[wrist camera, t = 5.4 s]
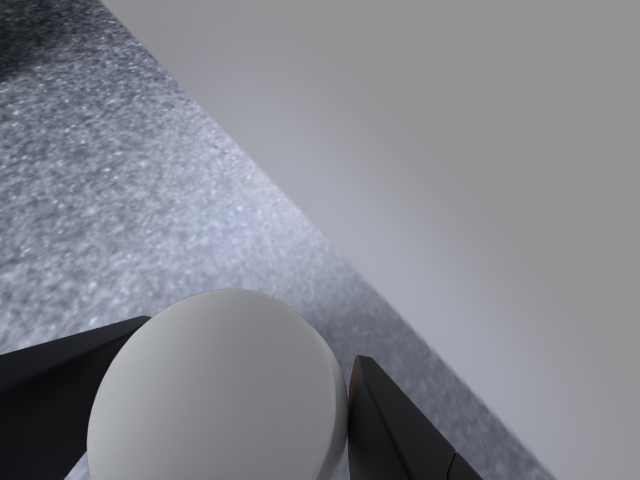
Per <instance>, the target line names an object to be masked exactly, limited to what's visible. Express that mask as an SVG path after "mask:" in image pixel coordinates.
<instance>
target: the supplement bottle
mask: <svg viewBox="0 0 640 480" xmlns="http://www.w3.org/2000/svg"><path fill="white" fill-rule="evenodd" d="M348 422H349V405H348V397H347V390H346V385H345V381H344V377H343V374H342V371H341V368H340V366H339V363H338V361H337V359H336V357H335V355H334V353H333V352H332V350H331V348H330V347H329V345H328V344H327V343H326V341H325V340H324V339H323V337H322V336H321V335H320V334H319V333H318V332H317V331H316V330H315V329H314V328H313V327H312V326H311V325H309V324H308V323H307V322H306V321H305V320H304V319H303V318H302V317H301V316H300V315H299V314H298V313H297V312H296V311H295V310H293V309H292V308H291V307H289V306H288V305H286V304H284V303H283V302H281V301H279V300H277V299H275V298H273V297H271V296H269V295H265V294H262V293H259V292H255V291H250V290H241V289H221V290H213V291H207V292H203V293H200V294H196V295H193V296H190V297H187V298H185V299H183V300H181V301H178V302H176V303H174V304H173V305H171V306H169V307H167V308H166V309H164V310H162V311H161V312H159V313H158V314H156V315H155V316H154V317H152V318H151V319H150V320H149V321H147V322H146V323H145V324H144V325H143V326H142V327H141V328H139V329H138V330H137V331H136V332H135V333H134V334H133V335H132V336H131V337H130V339H129V340H128V341H127V342H126V343H125V345H124V346H123V347H122V348H121V350H120V351H119V353H118V354H117V355H116V357H115V358H114V360H113V361H112V363H111V365H110V367H109V368H108V370H107V372H106V374H105V376H104V378H103V380H102V382H101V384H100V387H99V389H98V392H97V395H96V398H95V401H94V404H93V407H92V411H91V415H90V420H89V426H88V434H87V461H88V469H89V475H90V479H91V480H333V479H334V477H335V475H336V473H337V470H338V467H339V465H340V462H341V459H342V456H343V452H344V448H345V444H346V438H347V432H348Z"/></svg>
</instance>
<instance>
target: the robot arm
mask: <svg viewBox="0 0 640 480" xmlns="http://www.w3.org/2000/svg"><path fill="white" fill-rule="evenodd" d="M151 318H152V317H149V316H139V317H136V318H132V319H128V320H125V321H121V322H118V323H114V324H110V325H107V326H103V327H100V328H96V329H92V330H89V331H85V332H82V333H78V334H74V335H71V336H67V337H64V338H60V339H56V340H53V341H49V342H46V343H42V344H38V345H35V346H31V347H28V348H24V349H20V350H17V351H13V352H10V353H6V354H2V355H0V480H64V479H65V477H66V476H67V475H68V474H69V472H70V471H71V470H72V469H73V467H74V466H75V465H76V463H77V462H78V461H79V460H80V458H81V457H82V456H83V455H84V453H85V452H86V451H87V434H88V426H89V420H90V415H91V411H92V407H93V404H94V401H95V398H96V395H97V392H98V389H99V387H100V384H101V382H102V380H103V378H104V376H105V374H106V372H107V370H108V368H109V367H110V365H111V363H112V361H113V360H114V358H115V357H116V355H117V354H118V353H119V351H120V350H121V348H122V347H123V346H124V345H125V343H126V342H127V341H128V340H129V339H130V337H131V336H132V335H133V334H134V333H135V332H136V331H137V330H138V329H139V328H141V327H142V326H143V325H144V324H145V323H146V322H147V321H149V320H150V319H151ZM455 452H456V450H455V449H454V447H453V446H452V445H451V444H450V443H449V442H448V441H447V440H446V439H445V438H444V436H443V435H442V434H441V433H440V432H439V431H438V430H437V429H436V428H435V427H434V425H433V424H432V423H431V422H430V421H429V420H428V419H427V418H426V417H425V416H424V414H423V413H422V412H421V411H420V410H419V409H418V408H417V407H416V406H415V405H414V403H413V402H412V401H411V400H410V399H409V398H408V397H407V396H406V395H405V394H404V392H403V391H402V390H401V389H400V388H399V387H398V386H397V385H396V384H395V383H394V381H393V380H392V379H391V378H390V377H389V376H388V375H387V374H386V373H385V372H384V370H383V369H382V368H381V367H380V366H379V365H378V364H377V363H376V362H375V361H374V359H373V358H371V357H367V356H362V355H358V356H356V358H355V362H354V366H353V371H352V375H351V380H350V386H349V422H348V458H349V470H350V480H483V479H482V478H481V477H480V476H479V475H478V473H477V472H476V471H475V470H474V469H473V468H472V467H471V466H470V465H469V464H468V463H467V462H466V461H465V459H464V458H463V457H462V456H461V455H460V454H459V453H458V452H456V453H455Z"/></svg>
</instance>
